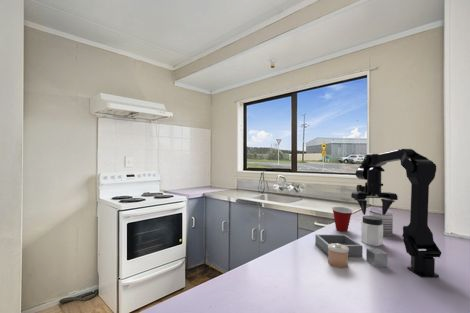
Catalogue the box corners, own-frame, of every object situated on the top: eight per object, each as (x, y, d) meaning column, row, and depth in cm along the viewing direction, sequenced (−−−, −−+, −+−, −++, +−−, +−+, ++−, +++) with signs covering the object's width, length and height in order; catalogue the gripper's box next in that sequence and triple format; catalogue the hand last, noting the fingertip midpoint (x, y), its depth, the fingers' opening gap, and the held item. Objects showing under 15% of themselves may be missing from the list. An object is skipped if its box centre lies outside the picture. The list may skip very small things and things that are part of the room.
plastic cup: (340, 234, 125) (340, 211, 125) (327, 228, 135) (327, 207, 135) (357, 232, 127) (357, 210, 127) (343, 226, 138) (343, 206, 138)
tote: (362, 256, 96) (362, 245, 96) (328, 256, 95) (328, 245, 95) (345, 244, 110) (345, 234, 110) (315, 244, 109) (315, 234, 109)
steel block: (387, 267, 88) (387, 253, 88) (374, 267, 87) (374, 253, 87) (378, 261, 93) (379, 248, 93) (366, 261, 92) (366, 248, 92)
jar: (376, 247, 107) (376, 220, 107) (358, 241, 113) (358, 216, 113) (385, 243, 111) (386, 218, 111) (368, 238, 118) (368, 214, 118)
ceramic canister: (352, 268, 86) (352, 248, 86) (332, 268, 86) (333, 247, 86) (342, 259, 93) (342, 240, 93) (324, 259, 93) (324, 240, 93)
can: (384, 229, 135) (384, 208, 135) (398, 235, 124) (398, 212, 124) (364, 229, 134) (364, 207, 134) (377, 235, 123) (377, 212, 123)
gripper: (382, 179, 118) (382, 211, 118) (345, 179, 118) (345, 210, 117) (398, 181, 107) (398, 216, 107) (358, 181, 106) (357, 216, 106)
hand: (373, 214), depth 110 cm, fingers open, 9 cm apart
